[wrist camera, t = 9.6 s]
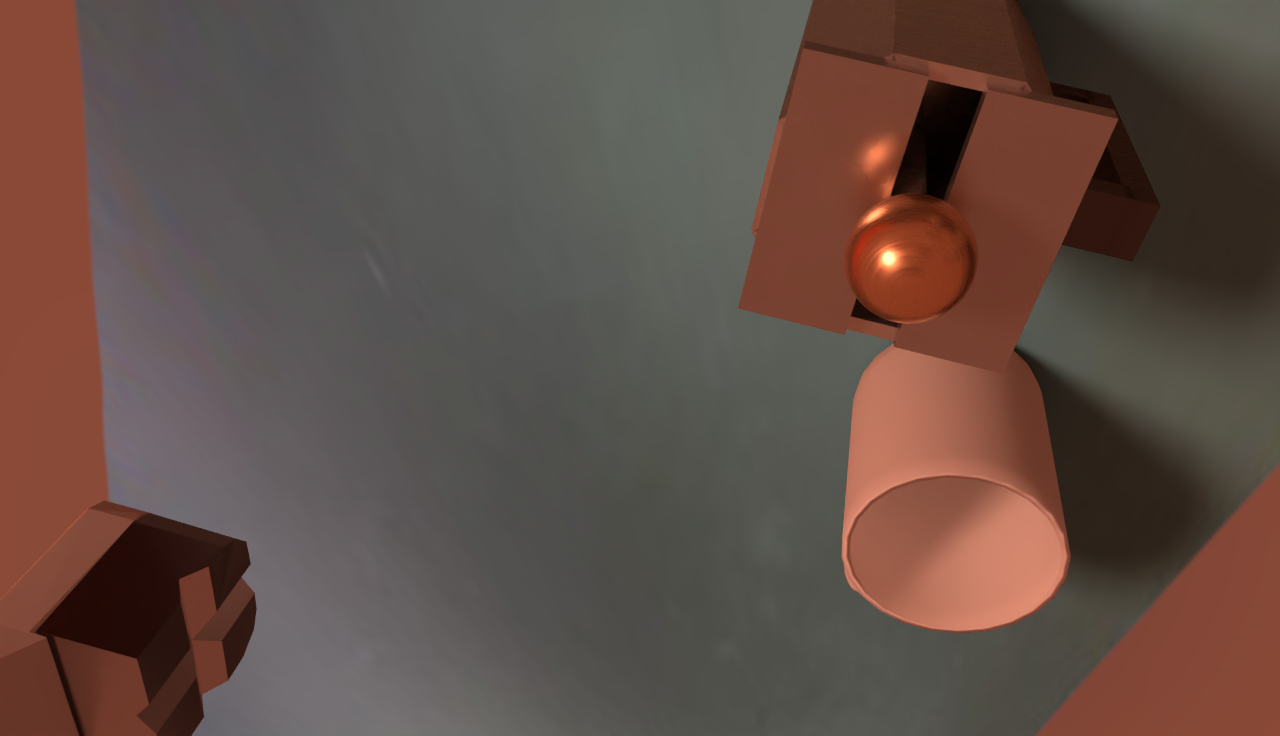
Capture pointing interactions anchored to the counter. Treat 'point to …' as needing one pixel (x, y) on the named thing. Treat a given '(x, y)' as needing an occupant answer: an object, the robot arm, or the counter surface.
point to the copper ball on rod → (917, 224)
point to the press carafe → (938, 169)
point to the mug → (952, 494)
